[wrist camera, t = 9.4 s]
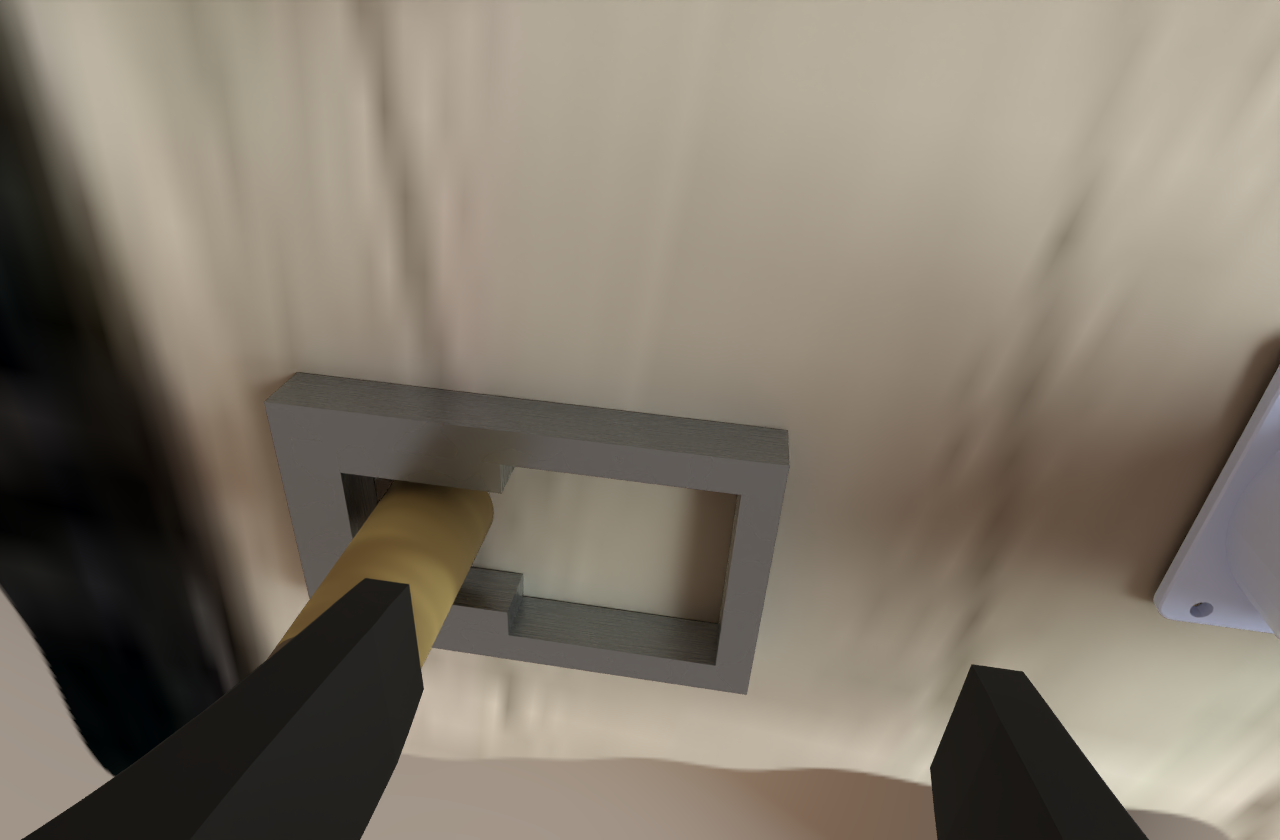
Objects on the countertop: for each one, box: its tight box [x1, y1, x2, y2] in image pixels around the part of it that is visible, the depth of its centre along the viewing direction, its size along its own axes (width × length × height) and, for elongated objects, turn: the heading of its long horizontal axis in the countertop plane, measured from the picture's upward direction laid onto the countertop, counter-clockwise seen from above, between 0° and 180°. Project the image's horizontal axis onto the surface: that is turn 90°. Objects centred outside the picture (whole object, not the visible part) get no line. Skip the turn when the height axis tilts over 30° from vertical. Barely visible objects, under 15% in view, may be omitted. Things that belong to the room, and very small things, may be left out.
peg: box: [267, 480, 494, 668], centre depth 19 cm, size 3×3×8 cm
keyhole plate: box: [264, 373, 789, 695], centre depth 21 cm, size 13×8×2 cm, turn 87°
